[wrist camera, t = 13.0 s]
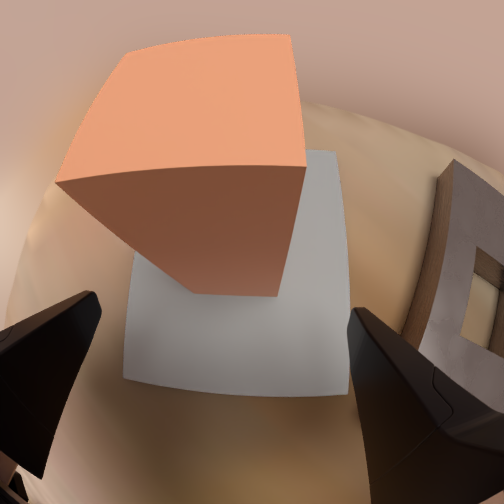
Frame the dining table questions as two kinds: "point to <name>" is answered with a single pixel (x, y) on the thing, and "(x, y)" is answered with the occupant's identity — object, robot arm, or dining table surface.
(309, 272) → the slate board
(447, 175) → the steel slotted plate
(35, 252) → the dining table surface
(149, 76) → the terracotta block
